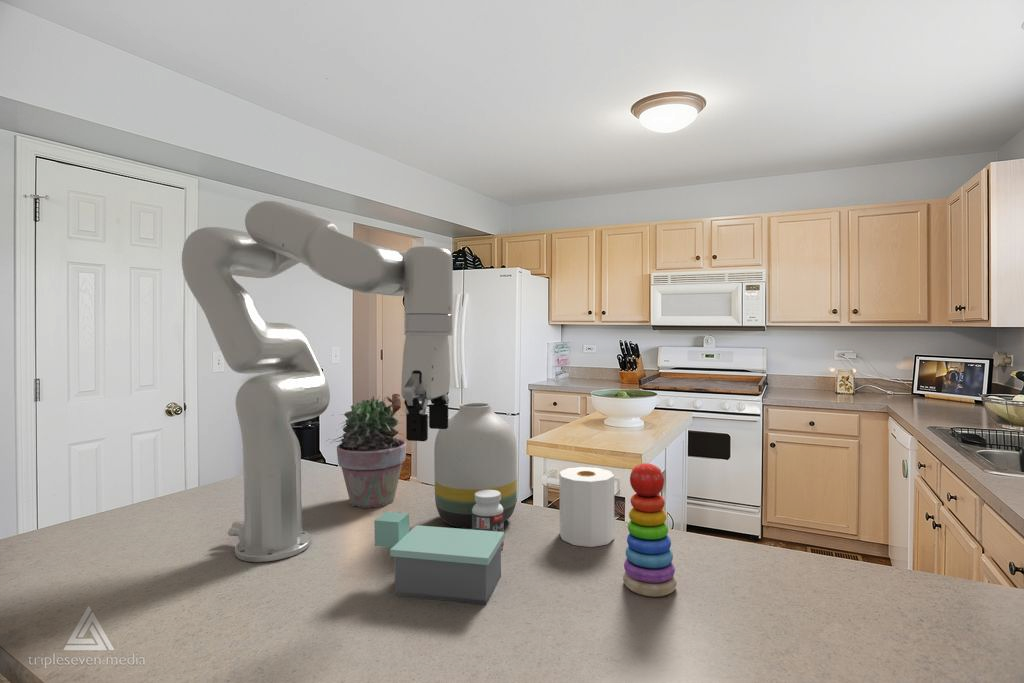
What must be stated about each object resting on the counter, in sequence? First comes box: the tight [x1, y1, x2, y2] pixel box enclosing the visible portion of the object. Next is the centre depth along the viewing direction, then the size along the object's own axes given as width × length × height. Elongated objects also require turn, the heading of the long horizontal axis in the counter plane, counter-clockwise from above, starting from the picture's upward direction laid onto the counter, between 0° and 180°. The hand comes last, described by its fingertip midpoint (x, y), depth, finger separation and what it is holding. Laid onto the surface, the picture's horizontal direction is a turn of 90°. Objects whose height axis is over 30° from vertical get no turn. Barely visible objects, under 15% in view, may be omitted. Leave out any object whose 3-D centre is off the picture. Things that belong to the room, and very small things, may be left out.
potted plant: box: [326, 393, 407, 509], centre depth 123 cm, size 18×20×25 cm
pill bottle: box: [471, 490, 505, 550], centre depth 97 cm, size 6×6×10 cm
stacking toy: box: [622, 462, 677, 598], centre depth 82 cm, size 8×8×19 cm
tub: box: [394, 545, 502, 606], centre depth 82 cm, size 14×9×6 cm, turn 77°
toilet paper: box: [558, 466, 615, 548], centre depth 102 cm, size 10×10×12 cm
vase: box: [433, 402, 518, 530], centre depth 110 cm, size 17×17×24 cm
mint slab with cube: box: [373, 511, 506, 565], centre depth 83 cm, size 19×10×4 cm, turn 77°
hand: (428, 434), depth 85 cm, fingers open, 9 cm apart
